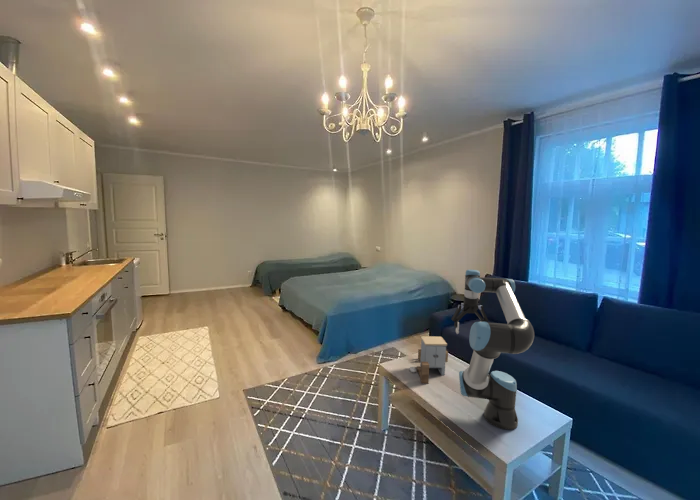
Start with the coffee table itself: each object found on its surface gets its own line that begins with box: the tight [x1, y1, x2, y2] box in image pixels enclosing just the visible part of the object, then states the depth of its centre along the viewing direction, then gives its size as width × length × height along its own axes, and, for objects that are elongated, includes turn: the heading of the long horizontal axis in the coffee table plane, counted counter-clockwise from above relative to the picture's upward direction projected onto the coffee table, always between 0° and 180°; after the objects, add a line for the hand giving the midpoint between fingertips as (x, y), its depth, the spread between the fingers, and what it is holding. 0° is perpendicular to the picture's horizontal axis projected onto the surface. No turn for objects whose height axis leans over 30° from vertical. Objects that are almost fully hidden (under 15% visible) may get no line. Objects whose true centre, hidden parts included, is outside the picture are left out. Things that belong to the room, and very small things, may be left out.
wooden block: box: [416, 362, 430, 385], centre depth 187 cm, size 17×4×12 cm, turn 179°
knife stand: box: [417, 348, 449, 363], centre depth 209 cm, size 4×20×7 cm, turn 90°
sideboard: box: [419, 335, 448, 376], centre depth 193 cm, size 13×14×21 cm
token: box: [409, 366, 418, 374], centre depth 194 cm, size 5×5×2 cm
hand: (468, 333), depth 170 cm, fingers open, 13 cm apart
